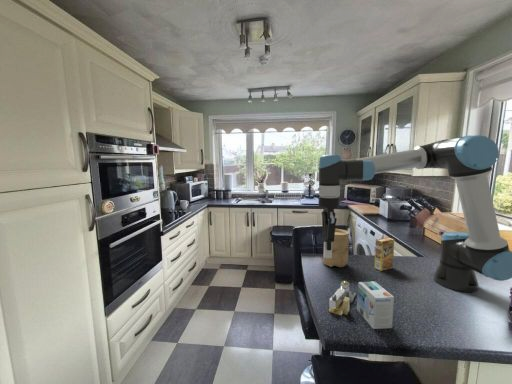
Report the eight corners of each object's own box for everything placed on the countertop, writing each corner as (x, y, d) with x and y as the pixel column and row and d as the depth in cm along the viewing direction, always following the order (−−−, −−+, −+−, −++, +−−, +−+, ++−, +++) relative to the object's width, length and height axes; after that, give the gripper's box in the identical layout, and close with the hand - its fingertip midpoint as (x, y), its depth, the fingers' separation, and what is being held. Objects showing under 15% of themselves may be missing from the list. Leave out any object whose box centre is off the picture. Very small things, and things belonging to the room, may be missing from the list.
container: (320, 265, 122) (320, 232, 120) (327, 257, 132) (327, 227, 130) (344, 271, 115) (346, 236, 113) (350, 262, 125) (351, 230, 123)
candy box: (381, 271, 115) (382, 241, 113) (373, 267, 119) (375, 239, 117) (393, 268, 118) (395, 239, 116) (385, 265, 122) (387, 237, 120)
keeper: (352, 304, 87) (352, 291, 87) (346, 317, 79) (346, 304, 79) (336, 299, 90) (336, 287, 90) (328, 311, 83) (329, 298, 82)
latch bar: (342, 290, 95) (342, 279, 94) (350, 292, 93) (350, 281, 92) (327, 306, 84) (328, 294, 83) (336, 310, 81) (337, 297, 81)
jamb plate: (355, 294, 93) (355, 292, 93) (351, 303, 88) (351, 300, 88) (338, 289, 97) (338, 287, 97) (333, 297, 92) (333, 295, 92)
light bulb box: (356, 309, 84) (357, 281, 83) (373, 308, 85) (375, 280, 83) (373, 329, 73) (375, 298, 72) (393, 328, 74) (395, 297, 73)
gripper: (315, 194, 93) (314, 251, 95) (322, 199, 80) (321, 264, 82) (334, 194, 92) (333, 251, 95) (344, 198, 79) (342, 264, 82)
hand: (327, 257), depth 88 cm, fingers closed
